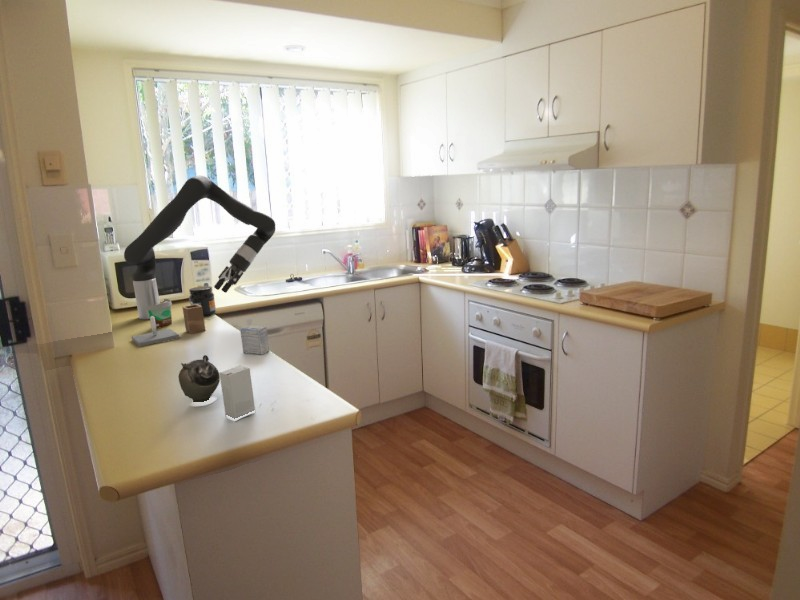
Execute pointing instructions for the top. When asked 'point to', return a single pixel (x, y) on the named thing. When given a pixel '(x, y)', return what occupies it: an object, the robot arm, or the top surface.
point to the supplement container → (203, 299)
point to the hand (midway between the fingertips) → (219, 290)
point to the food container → (161, 313)
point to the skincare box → (237, 391)
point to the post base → (157, 338)
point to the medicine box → (254, 339)
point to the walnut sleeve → (193, 318)
